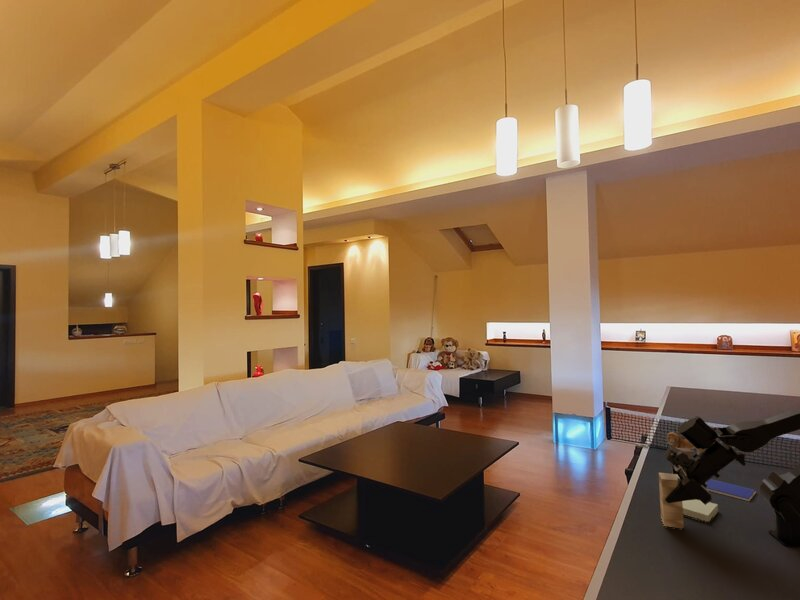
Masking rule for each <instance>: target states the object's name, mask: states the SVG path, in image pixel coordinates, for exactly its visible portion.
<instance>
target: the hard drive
mask: <svg viewBox="0 0 800 600" xmlns="http://www.w3.org/2000/svg"><path fill="white" fill-rule="evenodd" d="M706 484H707V486H706V487H705V488H706V489H707V490H708V491H709V492H712V493H714V494H715V493H716V494H720V495H724V496H728V497H731V498H735V499H739V500H743V501H746V502H751V500H752V499H753V497H754V496H755V495H756V494H757V493H756V491H757V490H756V489H752V488H748V487H744V486H739V485H737V484H733V483H728V482H724V481H720V480H716V479H713V478H711V479H710V480H709V481H707V482H706Z"/></svg>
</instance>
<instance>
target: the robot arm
mask: <svg viewBox="0 0 800 600" xmlns="http://www.w3.org/2000/svg"><path fill="white" fill-rule="evenodd" d="M798 430H800V406H799V407H797V408H794V409H791V410H788V411H785V412H782V413H779V414H775V415H773V416H771V417H767V418H764V419H761V420H755V421H753V420H752V421H750V420H749V421H747V420H746V421H741V422H735V423H730V424H729V425H728V426H725V427H723V426H722V427H711V426H710V425H709V424H707V423H706V421H705V420H703V418H701V416H699V415H697V416H695V417H694V418H690V419H688V420H685V421H684V422H682V423H681V425H679V426H678V429H677V434H678V435H680V436H682V437H684V438H685V439H686V440H687V441H689V442H690V443H691V444H692V445H693V446H694V447H695V448H694V449H696V448H697V449H699V448H702V449H704V450H703V451H702V452H701V453H700V454H697V453H698V452H694V453H693V454H692V455H689V454H687V453H685V452H683V451H681V450H679V449H677V448H675V447H673V446H672V445H670V444H668V447H667V449H666V451H665V452H664V454H663V456H664V457H665V459H666V461H668V462H670V464H671V466H670V469H671V474H678V476H679V478H680V479H679V478H678V485H677V487H676V488H675V489H674V490H673V491H672V492H671V493H670V494H669V495H668V496H667V498H666V499H665V500H666V501H667V502H668V503H673V502H679V501H686V500H696V499H697V500H700V501H701V502H702V503H704V504H705V505H706V504H707V503H709V502H710V503H711V502H712V494H711V493H710V491H708V490H707V489H706V488H705V487H706V486H707V484H706V482H707V481H709V480H710V479H713V478H714V477H715V478H716V479H718V478H720V477H721V475H720V473H721V472H722V471H723V470H725V469H726V468H727V467H728V466H729V465H731V464H732V463H733V462H735V461H737V463H740V465H741V466H743V467H745V466H746V459H745V458H746V455H745V453H753V452H755V451H757V450H759V449H761V448H762V447H764V446H766V445H767V444H769V442H771V441H772V440H774V439H775V438H778V437H781V436H784V435H786V434H790V433H793V432H796V431H798ZM717 439H718V440H717ZM719 440H720V441H721V442H722V443H721V442H720V441H719ZM733 447H734V448H735V449H734V448H733ZM697 449H696V450H697ZM737 450H738V451H737ZM743 452H744V453H743ZM673 466H674V467H673ZM761 482H762V483H761V485H760V486H759V492H760V494H761V497H762V498H763V499H764V500H765V501H766V502H767V504H769V505H770V507H771V508H772V509H773V510H774V511H773V513H774V515H773V516H774V529H775V530H773V529H771V530H770V529H769V530H768V534H770V535H771V536H772V537H774V538H775V540H777V541H778V542H780V543H781V544H782V545H783V546H785V547H793V548H795V547H796V548H797V547H798V548H799V547H800V463H799V464H797V465H796V466H795V467H793V468H792V469H791V470H790V471H789V472H787V473H782V474H779V473H777V472H776V471H775V470H774V471H772V472H770V474H769V475H768V476H767V477H766V478H764V479H761Z"/></svg>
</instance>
